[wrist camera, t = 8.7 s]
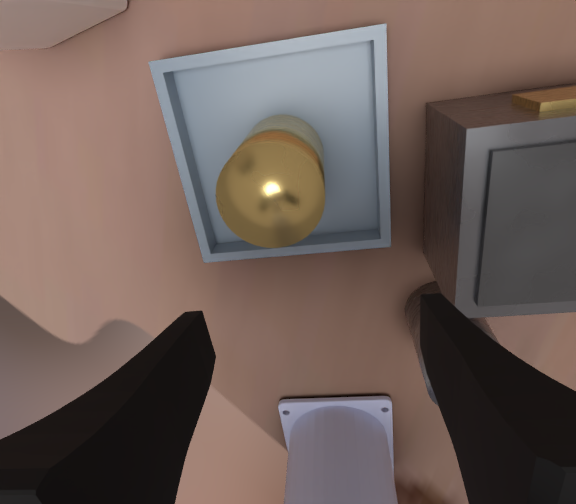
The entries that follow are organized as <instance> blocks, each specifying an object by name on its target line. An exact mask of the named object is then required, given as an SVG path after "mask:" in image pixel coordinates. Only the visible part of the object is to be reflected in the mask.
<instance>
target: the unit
mask: <svg viewBox="0 0 576 504" xmlns="http://www.w3.org/2000/svg"><path fill="white" fill-rule="evenodd" d="M423 253H424V255H425V257H426V259H427V262H428V264H429V266H430V268H431V270H432V272H433V275H434V277H435V279H436V281H437V283H438V286H439V288H440V290H441V292H442V294H443V296H444V297H445V298H447V299H448V300H449V301H450V302H451V303H452V304H453V305H454V306H455V307H456V308H457V309H458V310H459V311H460V312H462V313H463V314H464V315H465V316H466V317H467V318H481V317H498V316H515V315H532V314H549V313H566V312H576V83H574V84H566V85H559V86H551V87H544V88H536V89H528V90H521V91H513V92H506V93H498V94H491V95H483V96H476V97H468V98H460V99H453V100H445V101H438V102H430V103H426V149H425V196H424V243H423Z"/></svg>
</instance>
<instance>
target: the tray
mask: <svg viewBox="0 0 576 504" xmlns="http://www.w3.org/2000/svg"><path fill="white" fill-rule="evenodd" d="M149 66H150V69H151V73H152V77H153V80H154V84H155V88H156V91H157V95H158V98H159V102H160V106H161V109H162V113H163V116H164V120H165V124H166V127H167V131H168V135H169V138H170V142H171V145H172V149H173V153H174V156H175V160H176V164H177V167H178V171H179V174H180V178H181V182H182V185H183V189H184V192H185V196H186V200H187V203H188V207H189V211H190V214H191V218H192V221H193V225H194V229H195V232H196V236H197V239H198V243H199V247H200V250H201V254H202V258H203V261H204V263H207V262H219V261H231V260H242V259H254V258H266V257H278V256H290V255H301V254H313V253H325V252H337V251H348V250H360V249H372V248H384V247H391V218H390V172H389V126H388V80H387V34H386V24H380V25H373V26H367V27H361V28H355V29H349V30H342V31H336V32H330V33H324V34H318V35H311V36H305V37H299V38H293V39H287V40H280V41H274V42H268V43H262V44H256V45H249V46H243V47H237V48H231V49H225V50H218V51H212V52H206V53H200V54H194V55H187V56H181V57H175V58H169V59H163V60H156V61H150V62H149ZM280 114H285V115H292V116H295V117H298V118H300V119H302V120H304V121H306V122H307V123H308V124H310V125H311V126H312V127H313V128H314V129H315V131H316V132H317V134H318V135H319V137H320V139H321V142H322V145H323V150H324V174H325V206H324V211H323V214H322V217H321V219H320V221H319V223H318V225H317V226H316V228H315V229H314V230H313V231H312V232H311V233H310V234H309V235H308V236H307V237H306V238H304V239H302V240H301V241H299V242H297V243H295V244H292V245H290V246H286V247H281V248H266V247H260V246H256V245H253V244H251V243H248V242H246V241H244V240H243V239H241V238H240V237H238V236H237V235H236V234H234V233H233V232H232V231H231V230H230V229H229V227H228V226H227V225H226V224H225V222H224V221H223V219H222V217H221V215H220V213H219V210H218V207H217V203H216V184H217V180H218V177H219V174H220V172H221V170H222V168H223V167H224V165H225V164H226V163H227V161H228V160H229V159H230V157H231V156H232V155H233V153H234V152H235V151H236V149H237V148H238V147H239V146H240V144H241V143H242V142H243V140H244V139H245V138H246V136H247V135H248V134H249V132H250V131H251V130H252V129H253V128H254V126H255V125H256V124H258V123H259V122H260V121H262V120H263V119H265V118H268V117H270V116H274V115H280Z"/></svg>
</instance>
